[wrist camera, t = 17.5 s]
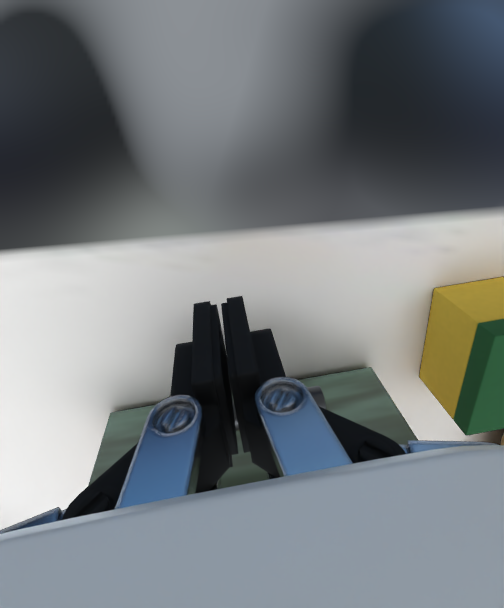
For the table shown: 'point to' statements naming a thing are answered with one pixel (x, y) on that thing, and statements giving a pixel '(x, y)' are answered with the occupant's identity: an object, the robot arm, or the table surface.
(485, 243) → the table surface
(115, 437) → the drawer
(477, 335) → the dish sponge
